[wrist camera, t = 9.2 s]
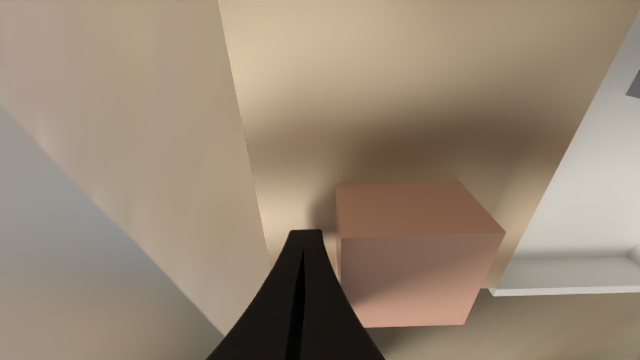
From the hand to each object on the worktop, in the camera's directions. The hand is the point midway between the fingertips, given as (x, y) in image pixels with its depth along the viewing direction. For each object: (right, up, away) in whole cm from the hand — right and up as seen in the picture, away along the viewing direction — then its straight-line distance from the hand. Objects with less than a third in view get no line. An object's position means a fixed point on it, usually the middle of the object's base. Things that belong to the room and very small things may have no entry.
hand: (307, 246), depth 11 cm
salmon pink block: (+4, +1, +1) cm, 4 cm away
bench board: (+4, +5, +1) cm, 6 cm away
